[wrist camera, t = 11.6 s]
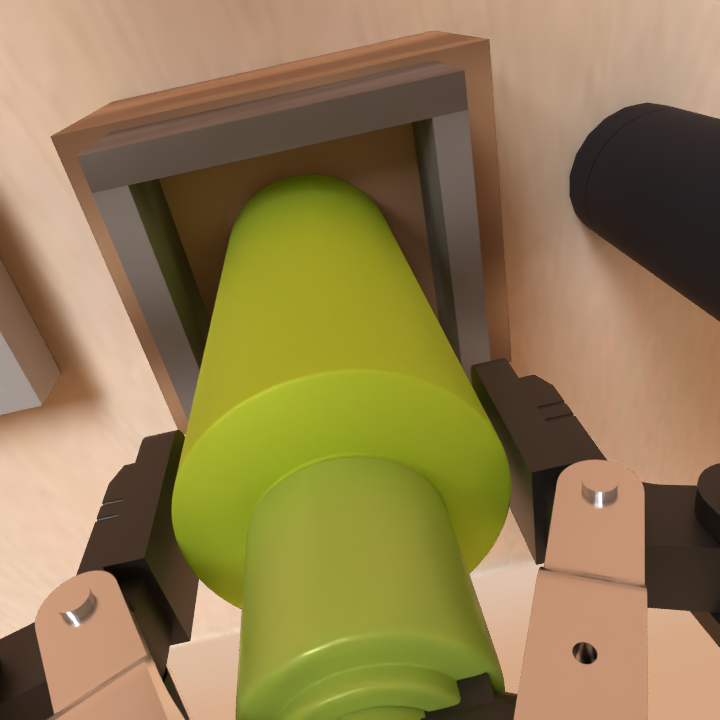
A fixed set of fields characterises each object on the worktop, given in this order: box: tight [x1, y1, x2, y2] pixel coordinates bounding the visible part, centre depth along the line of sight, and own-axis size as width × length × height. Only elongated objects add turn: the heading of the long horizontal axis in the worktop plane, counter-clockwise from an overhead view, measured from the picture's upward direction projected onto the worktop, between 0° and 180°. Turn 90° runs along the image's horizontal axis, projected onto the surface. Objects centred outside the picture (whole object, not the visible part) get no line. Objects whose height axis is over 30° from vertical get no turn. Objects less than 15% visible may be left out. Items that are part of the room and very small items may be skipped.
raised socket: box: [51, 31, 511, 434], centre depth 24 cm, size 12×14×12 cm
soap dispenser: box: [172, 174, 511, 720], centre depth 13 cm, size 6×7×20 cm
